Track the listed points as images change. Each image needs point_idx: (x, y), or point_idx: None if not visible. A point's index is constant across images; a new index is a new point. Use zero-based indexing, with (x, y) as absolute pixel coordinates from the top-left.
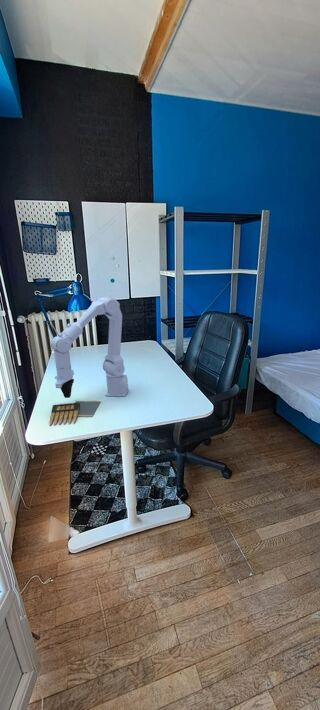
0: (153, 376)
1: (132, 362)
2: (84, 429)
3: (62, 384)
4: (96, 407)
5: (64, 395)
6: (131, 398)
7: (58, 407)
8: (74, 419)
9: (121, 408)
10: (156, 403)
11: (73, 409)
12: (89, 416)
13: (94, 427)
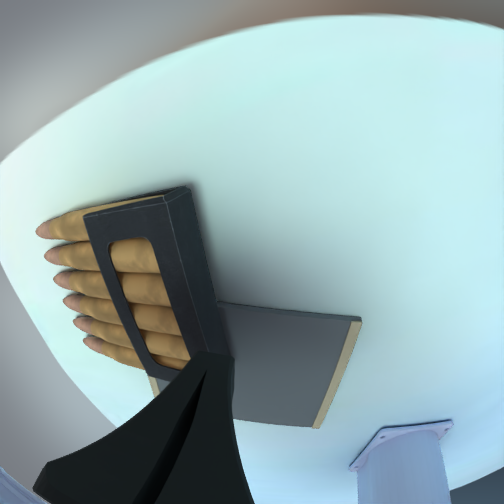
0: (463, 471)
1: None
2: (73, 367)
3: (37, 500)
4: (244, 418)
5: (183, 373)
6: (325, 475)
7: (142, 260)
8: (91, 348)
9: (243, 461)
10: (273, 496)
11: (144, 359)
12: (155, 392)
13: (96, 393)
